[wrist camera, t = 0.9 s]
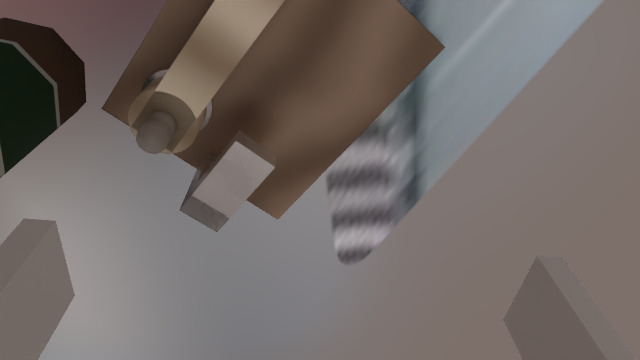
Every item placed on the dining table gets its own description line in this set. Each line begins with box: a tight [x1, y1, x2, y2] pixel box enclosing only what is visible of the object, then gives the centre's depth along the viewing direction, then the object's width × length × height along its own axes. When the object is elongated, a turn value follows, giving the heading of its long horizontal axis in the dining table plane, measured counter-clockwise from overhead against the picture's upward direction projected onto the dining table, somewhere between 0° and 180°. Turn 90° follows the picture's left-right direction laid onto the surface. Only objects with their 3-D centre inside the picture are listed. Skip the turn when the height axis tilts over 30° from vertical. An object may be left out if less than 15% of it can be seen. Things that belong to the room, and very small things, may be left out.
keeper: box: [141, 68, 277, 232], centre depth 30 cm, size 10×7×6 cm
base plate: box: [102, 0, 445, 219], centre depth 31 cm, size 16×19×1 cm
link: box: [128, 0, 285, 154], centre depth 26 cm, size 14×4×5 cm, turn 140°
